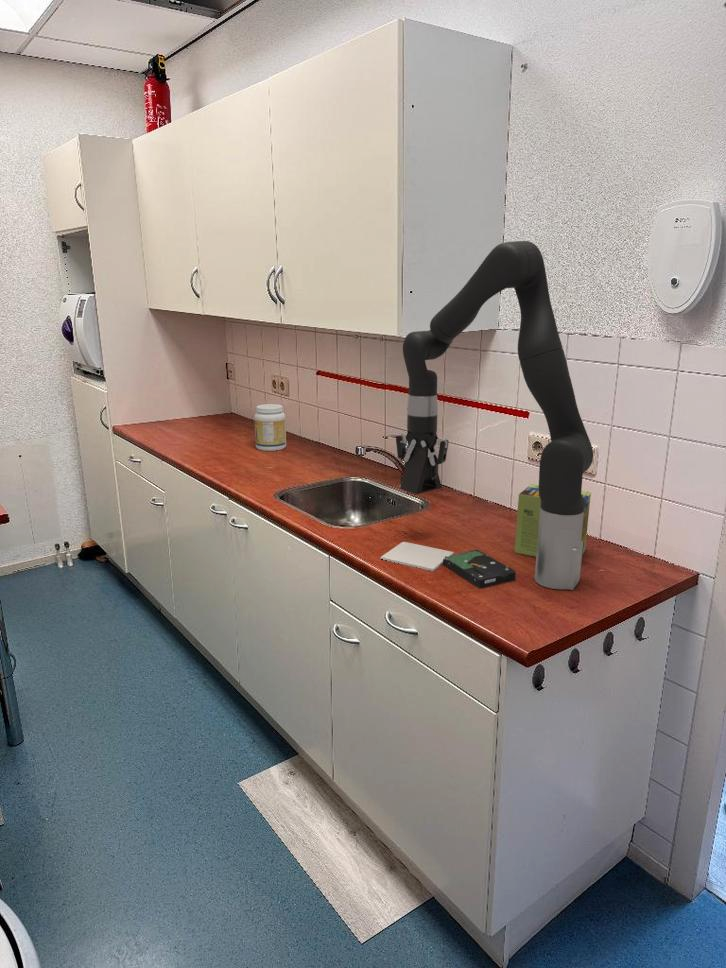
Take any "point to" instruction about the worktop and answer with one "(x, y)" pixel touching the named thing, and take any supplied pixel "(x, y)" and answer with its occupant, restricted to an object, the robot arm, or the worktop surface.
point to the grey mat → (417, 556)
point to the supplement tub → (270, 427)
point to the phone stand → (419, 473)
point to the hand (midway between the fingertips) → (421, 476)
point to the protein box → (537, 520)
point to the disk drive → (479, 568)
